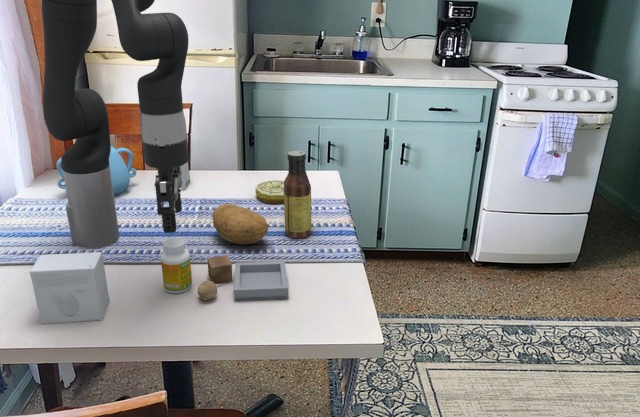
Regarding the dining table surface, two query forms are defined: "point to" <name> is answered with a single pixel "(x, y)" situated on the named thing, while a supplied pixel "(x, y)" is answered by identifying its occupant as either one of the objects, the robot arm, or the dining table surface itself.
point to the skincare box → (70, 287)
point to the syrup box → (185, 175)
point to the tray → (260, 281)
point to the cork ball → (207, 290)
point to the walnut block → (220, 269)
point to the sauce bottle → (297, 197)
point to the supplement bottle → (176, 266)
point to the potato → (239, 224)
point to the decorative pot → (112, 170)
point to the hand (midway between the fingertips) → (173, 221)
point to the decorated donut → (271, 191)
